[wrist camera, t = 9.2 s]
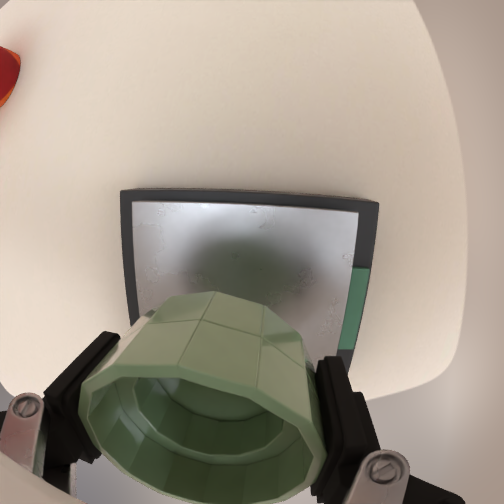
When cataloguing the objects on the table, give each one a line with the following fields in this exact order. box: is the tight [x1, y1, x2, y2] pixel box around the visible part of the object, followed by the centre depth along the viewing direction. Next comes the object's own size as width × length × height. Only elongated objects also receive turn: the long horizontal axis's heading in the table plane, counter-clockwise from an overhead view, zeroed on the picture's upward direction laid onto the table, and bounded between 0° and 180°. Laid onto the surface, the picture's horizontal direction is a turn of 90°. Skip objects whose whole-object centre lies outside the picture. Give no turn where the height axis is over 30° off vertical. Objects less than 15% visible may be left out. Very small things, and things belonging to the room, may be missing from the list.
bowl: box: [78, 291, 328, 504], centre depth 8 cm, size 7×7×4 cm
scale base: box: [120, 188, 379, 375], centre depth 16 cm, size 14×12×2 cm
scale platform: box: [132, 200, 359, 373], centre depth 15 cm, size 11×11×1 cm
